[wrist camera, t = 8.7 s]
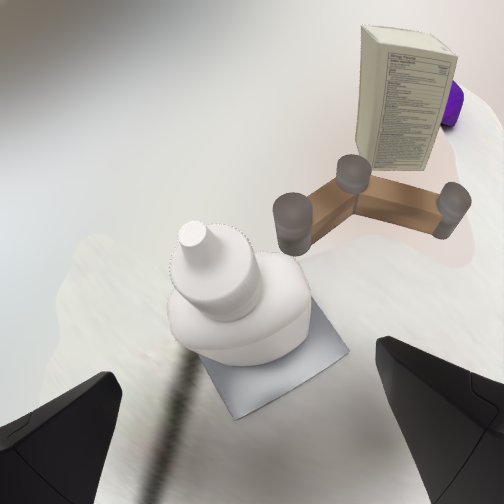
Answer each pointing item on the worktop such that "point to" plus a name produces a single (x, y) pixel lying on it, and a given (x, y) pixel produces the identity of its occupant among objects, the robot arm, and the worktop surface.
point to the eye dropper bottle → (235, 297)
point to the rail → (365, 206)
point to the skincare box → (401, 96)
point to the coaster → (277, 369)
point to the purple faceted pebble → (453, 105)
